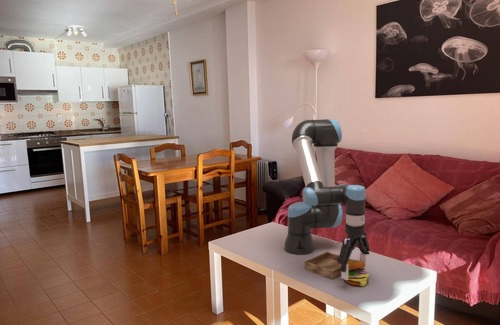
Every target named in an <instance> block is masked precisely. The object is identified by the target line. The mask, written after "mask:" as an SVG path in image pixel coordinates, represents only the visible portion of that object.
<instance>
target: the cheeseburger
mask: <svg viewBox="0 0 500 325" xmlns="http://www.w3.org/2000/svg"><path fill="white" fill-rule="evenodd" d="M347 264H348V280H345V279H343V280H344V282H346V283H347V285H348V284H349V285H353V286H360V287H365V286H366V285H367V284H368V282H369V277H370V274H369V273H368V272H367V270H364V269H365V268H364V269H363V268H362V267H364V266H365V265H364V263H363V262H362V261H360V260H357V259H352V260H350V261H348V263H347Z"/></svg>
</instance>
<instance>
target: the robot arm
mask: <svg viewBox="0 0 500 325" xmlns="http://www.w3.org/2000/svg"><path fill="white" fill-rule="evenodd" d="M342 134H343V133H342V127H341V124H340V123H339V121H337V120H336V119H332V118H331V119H330V118H329V119H305V120H303V121H301V122H299V123H298V124H297V125H296V126H295V128H294V129H293V131H292V134H291V144H292V147H293V149H294V150H295V152H296V155H297V159H298V163H299V166H300V170H301V174H302V177H303V182H304V185H305V187H304V188H303V190H302V201H298V202H294V203H292V204H290V205H289V206H288V208H287V215H286V216H287V236H286V239H285V242H284V248H283V249H284V250H285V251H286V252H287V253H289V254H292V255H293V254H294V255H309V254H311V253H313V252H314V251H315V248H316V247H315V242H314V239H313V235H312V229H331V228H337V227H339V226H340V224H341V223H342V220H343V206H342V205H345V218H344V219H345V226H344V227H345V229H344V230H345V233H346V234H347V238H345V237H344V238H343V239H342V245H341V248H340V252H339V254H338V255H339V258H338V263H340V264H341V275H340V278H341V279H343V280H344V279H345V280H348V264H347V263H348V260H349V259H351V255H352V253H353V250H355V248H356V247H357V249H359V251H360V253H359V261H362V262H363V263H364V265H365V266H364V267H362V268H363V269H364V268H365V269H364V271H367V258H368V257H367V256H368V255H369V254H370V252H371V248H370V245H369V241H368V236H367V232H366V230H365V229H366V228H365V227H366V226H365V221H366V218H365V217H366V199H367V198H366V197H367V195H366V187H365V186H363V185H359V184H349V185H347V184H344V183H343V184H338V185H335V183H336V179H335V178H336V175H335V174H336V173H335V170H336V169H335V163H336V162H335V150H336V149H337V148H338V146H339V145H338V144H339V143H341V142H342V138H343V135H342ZM312 145H313V146H312ZM314 149H315V150H316V155H315V153H314ZM345 280H344V281H345Z"/></svg>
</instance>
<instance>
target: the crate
mask: <svg viewBox="0 0 500 325" xmlns="http://www.w3.org/2000/svg"><path fill="white" fill-rule="evenodd" d="M339 255H340V254H336V253H334V252H330V251H325V252H323V253H320V254H318V255H317V256H314V257H312V258H309V259H308V260H306V261H304V269H305V270H306V271H309V272H311V271H312V273H314V274H318V275H319V274H320V275H319V276H322V275H323V276H322V277H324V276H325V278H327V279H329V278H330V279H329V280H332V279H333V280H334V278H335V279H336V278H338V277H339V276H340V277H341V264H340V263H338V258H339ZM350 260H353V259H352V258H349V260H348V261H350Z"/></svg>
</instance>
